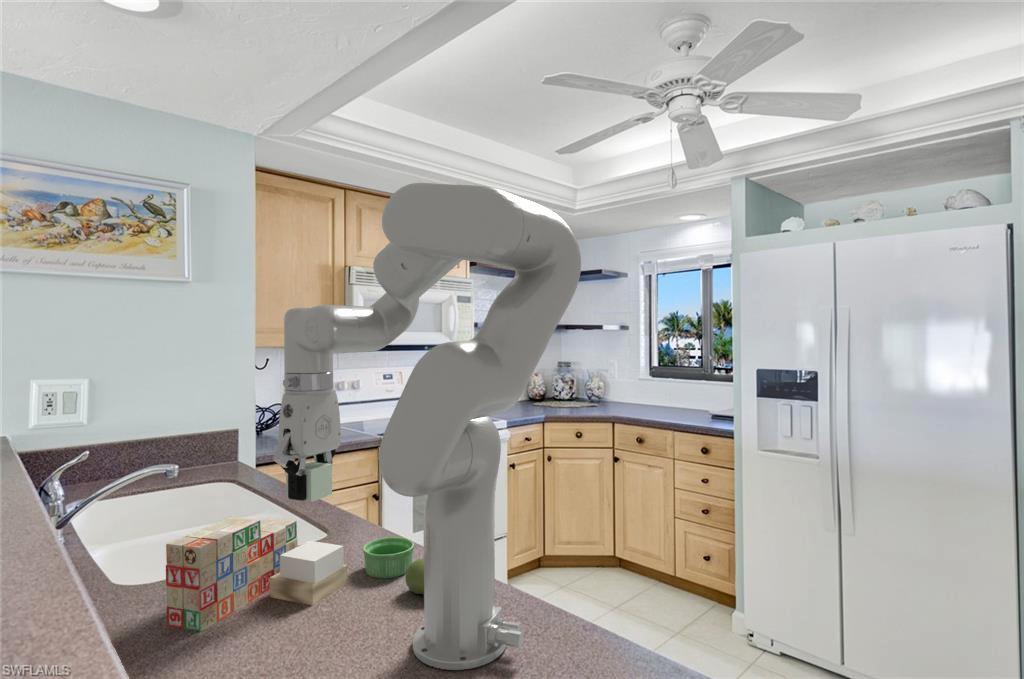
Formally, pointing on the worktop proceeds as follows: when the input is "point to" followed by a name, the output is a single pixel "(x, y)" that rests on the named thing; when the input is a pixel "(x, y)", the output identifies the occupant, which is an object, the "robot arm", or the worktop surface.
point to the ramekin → (388, 557)
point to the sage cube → (316, 481)
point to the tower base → (307, 587)
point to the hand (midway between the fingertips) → (309, 493)
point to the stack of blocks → (223, 568)
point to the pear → (416, 577)
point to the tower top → (311, 561)
